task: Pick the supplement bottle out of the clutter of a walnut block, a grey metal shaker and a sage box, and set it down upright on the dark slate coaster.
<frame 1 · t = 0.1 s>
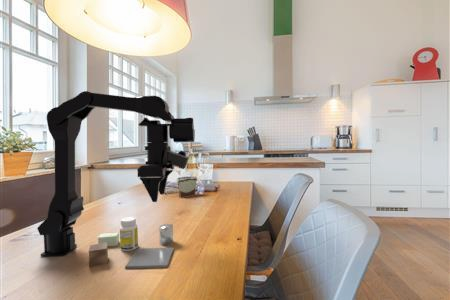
hand: (158, 197, 72), 14 cm above the table, tool pointing down, fingers open, 9 cm apart
sage box: (108, 244, 76), on the table
food container: (185, 196, 141), on the table
supplement bottle: (129, 248, 73), on the table
walnut block: (98, 262, 65), on the table
coaster: (151, 258, 67), on the table
metal shaker: (166, 242, 77), on the table
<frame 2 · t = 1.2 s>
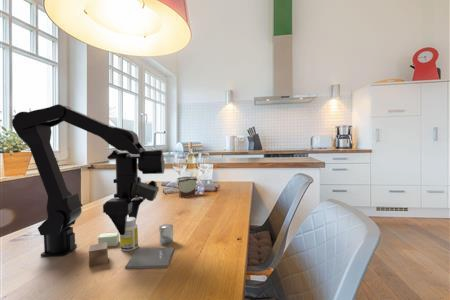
hand: (128, 228, 73), 6 cm above the table, tool pointing down, fingers open, 9 cm apart
nothing on the table moved.
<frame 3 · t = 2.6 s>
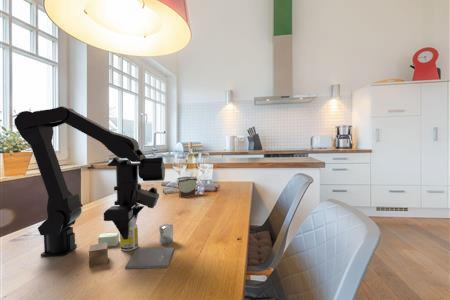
hand: (128, 235, 73), 4 cm above the table, tool pointing down, fingers closed on supplement bottle, 5 cm apart
supplement bottle: (129, 248, 73), on the table, touching gripper
everything else where it was.
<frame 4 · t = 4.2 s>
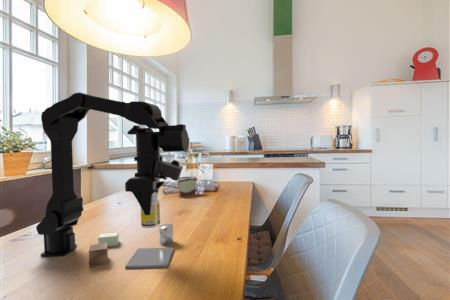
hand: (150, 212, 66), 12 cm above the table, tool pointing down, fingers closed on supplement bottle, 5 cm apart
supplement bottle: (150, 226, 67), point 8 cm above the table, touching gripper
everything else where it was.
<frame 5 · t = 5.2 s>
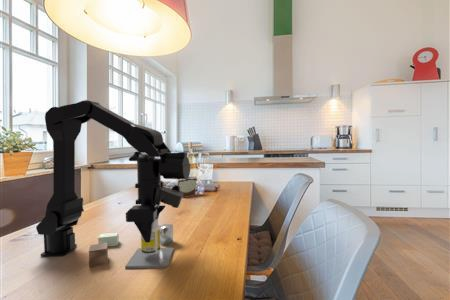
hand: (150, 238, 66), 5 cm above the table, tool pointing down, fingers closed on supplement bottle, 5 cm apart
supplement bottle: (150, 252, 67), point 2 cm above the table, touching gripper
everything else where it was.
when the fingers open (5 cm above the table, at t = 6.0 s): supplement bottle stays where it is, resting on coaster.
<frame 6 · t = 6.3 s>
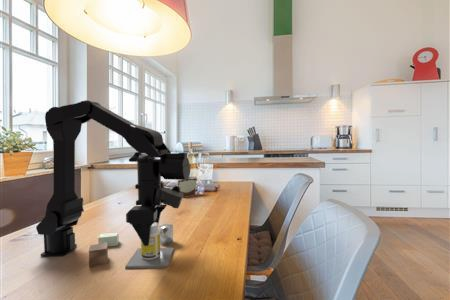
hand: (150, 238, 66), 5 cm above the table, tool pointing down, fingers open, 8 cm apart
supplement bottle: (151, 256, 67), resting on coaster
everything else where it was.
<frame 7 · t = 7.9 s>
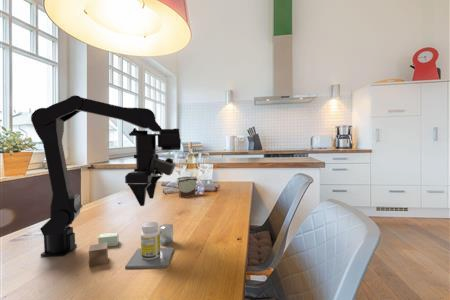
hand: (147, 201, 78), 12 cm above the table, tool pointing down, fingers open, 9 cm apart
nothing on the table moved.
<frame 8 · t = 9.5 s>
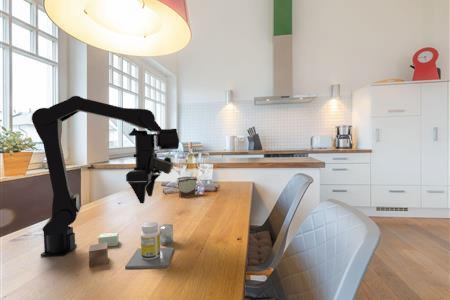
hand: (146, 199, 81), 12 cm above the table, tool pointing down, fingers open, 9 cm apart
nothing on the table moved.
at the end: supplement bottle inside the target area on the coaster (0.1 cm from its centre), point 0.4 cm above the coaster's base; supplement bottle tilted 0°; the gripper is holding nothing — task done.
